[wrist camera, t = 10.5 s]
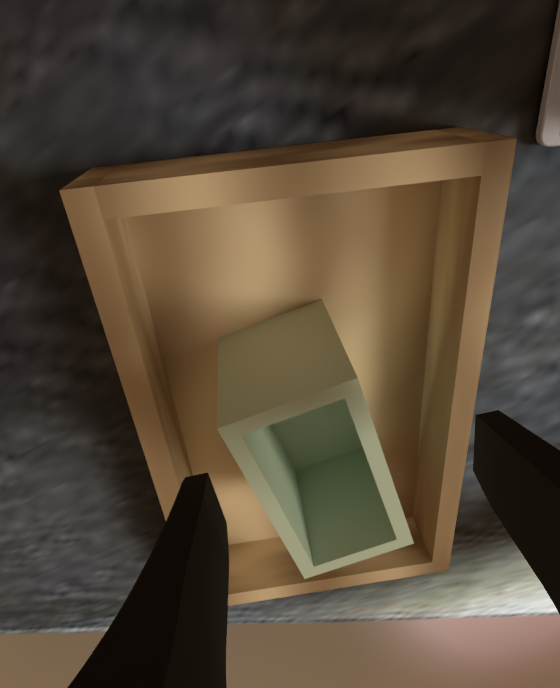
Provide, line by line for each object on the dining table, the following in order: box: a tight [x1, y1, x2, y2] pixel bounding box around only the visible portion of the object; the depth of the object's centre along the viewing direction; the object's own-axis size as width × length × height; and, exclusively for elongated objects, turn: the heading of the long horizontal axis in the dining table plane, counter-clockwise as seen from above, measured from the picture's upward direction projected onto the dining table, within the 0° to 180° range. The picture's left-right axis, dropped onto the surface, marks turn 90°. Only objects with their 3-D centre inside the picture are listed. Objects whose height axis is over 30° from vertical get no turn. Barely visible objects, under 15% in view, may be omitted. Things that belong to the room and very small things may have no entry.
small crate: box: [217, 299, 414, 579], centre depth 19 cm, size 5×9×6 cm, turn 20°
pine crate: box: [59, 127, 517, 606], centre depth 21 cm, size 14×22×4 cm, turn 5°
